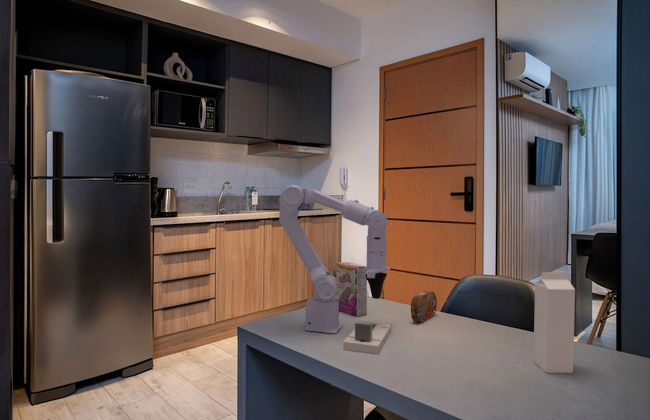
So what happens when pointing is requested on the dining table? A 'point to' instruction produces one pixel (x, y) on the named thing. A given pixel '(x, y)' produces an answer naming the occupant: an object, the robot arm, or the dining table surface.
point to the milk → (554, 323)
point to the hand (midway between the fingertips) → (376, 298)
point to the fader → (363, 330)
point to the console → (372, 346)
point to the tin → (423, 306)
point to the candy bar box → (352, 288)
